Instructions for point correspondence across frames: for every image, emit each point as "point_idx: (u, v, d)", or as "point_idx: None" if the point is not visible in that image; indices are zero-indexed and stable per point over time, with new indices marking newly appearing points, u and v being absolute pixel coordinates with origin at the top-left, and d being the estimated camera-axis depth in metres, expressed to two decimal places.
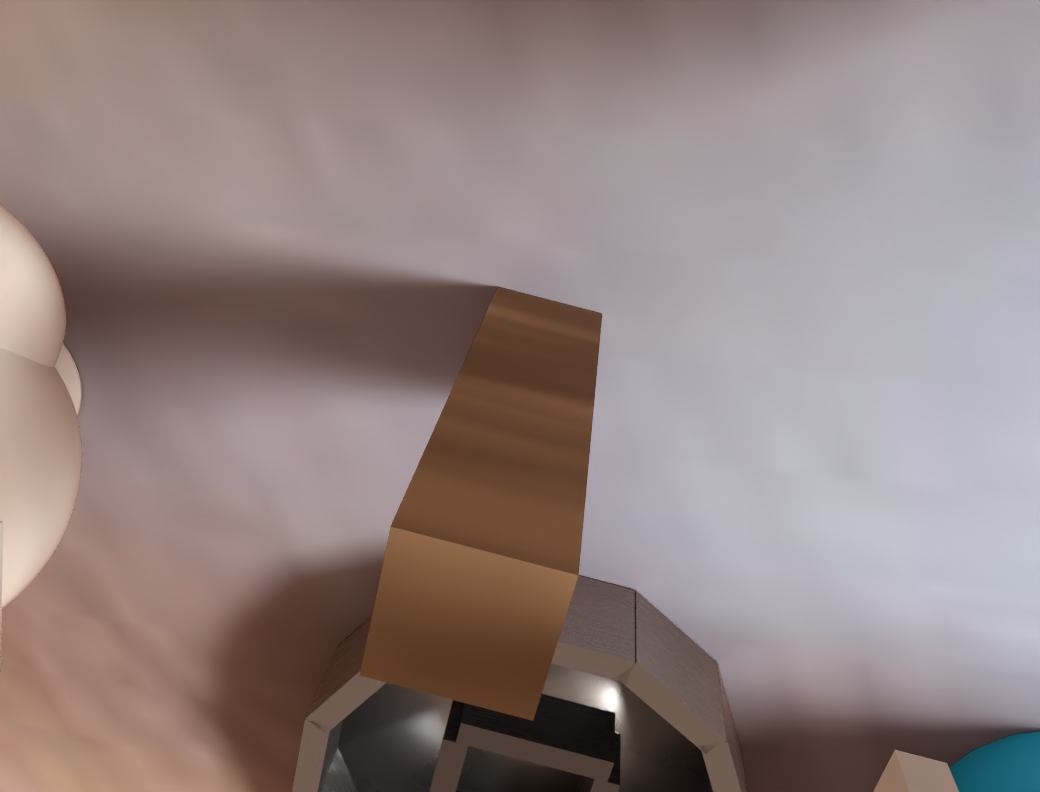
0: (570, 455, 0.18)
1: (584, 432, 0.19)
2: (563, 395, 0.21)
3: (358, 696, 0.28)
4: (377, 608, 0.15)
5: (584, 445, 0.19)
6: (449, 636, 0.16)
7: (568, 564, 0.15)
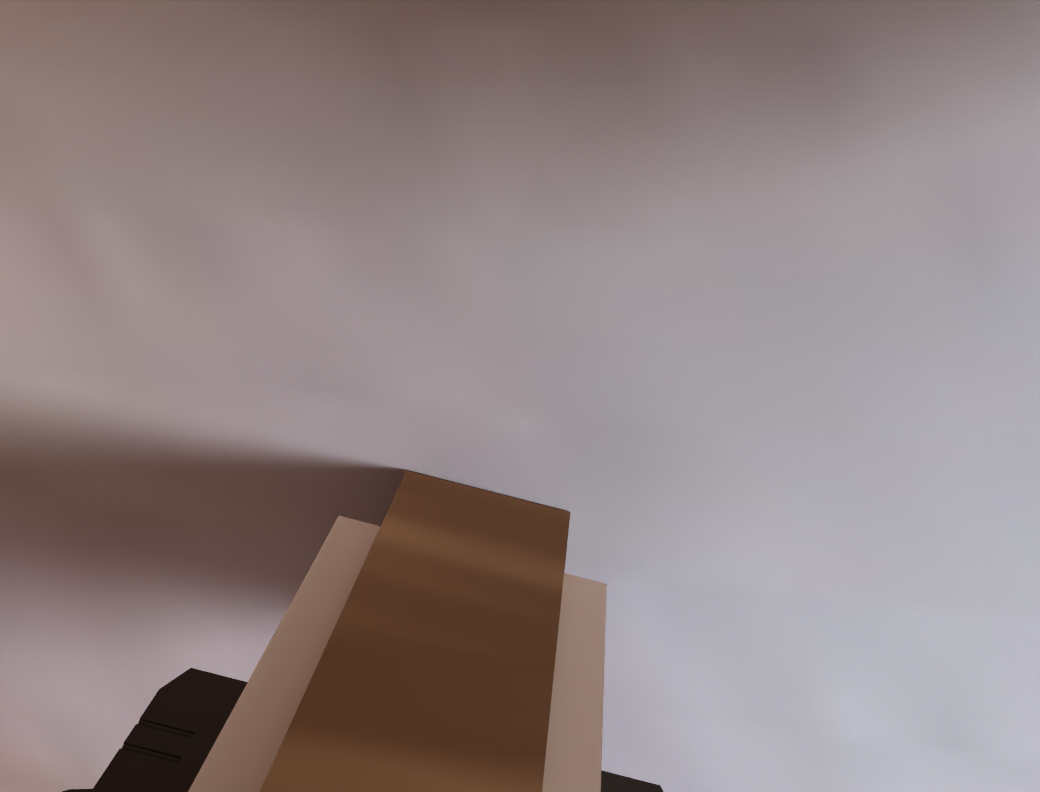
0: None
1: None
2: (486, 764, 0.11)
3: None
4: None
5: None
6: None
7: None
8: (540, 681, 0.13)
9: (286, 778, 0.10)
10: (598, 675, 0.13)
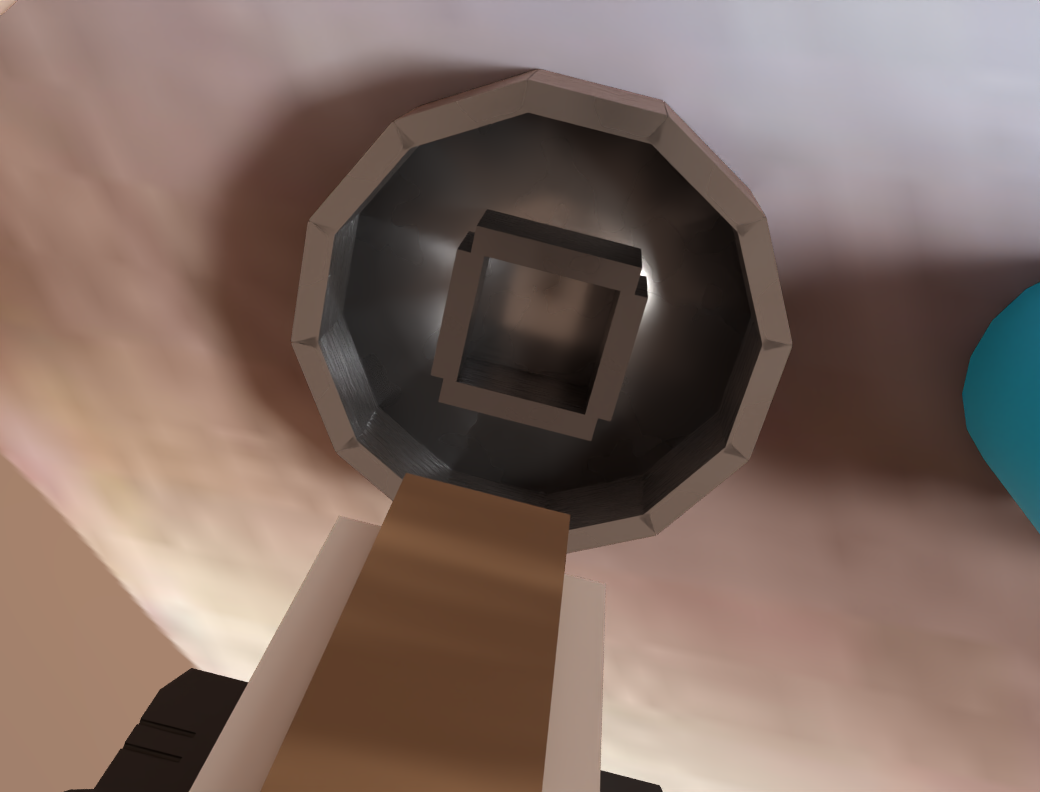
0: None
1: None
2: (486, 768, 0.11)
3: (365, 185, 0.26)
4: None
5: None
6: None
7: None
8: (540, 685, 0.13)
9: (285, 783, 0.10)
10: (597, 675, 0.13)
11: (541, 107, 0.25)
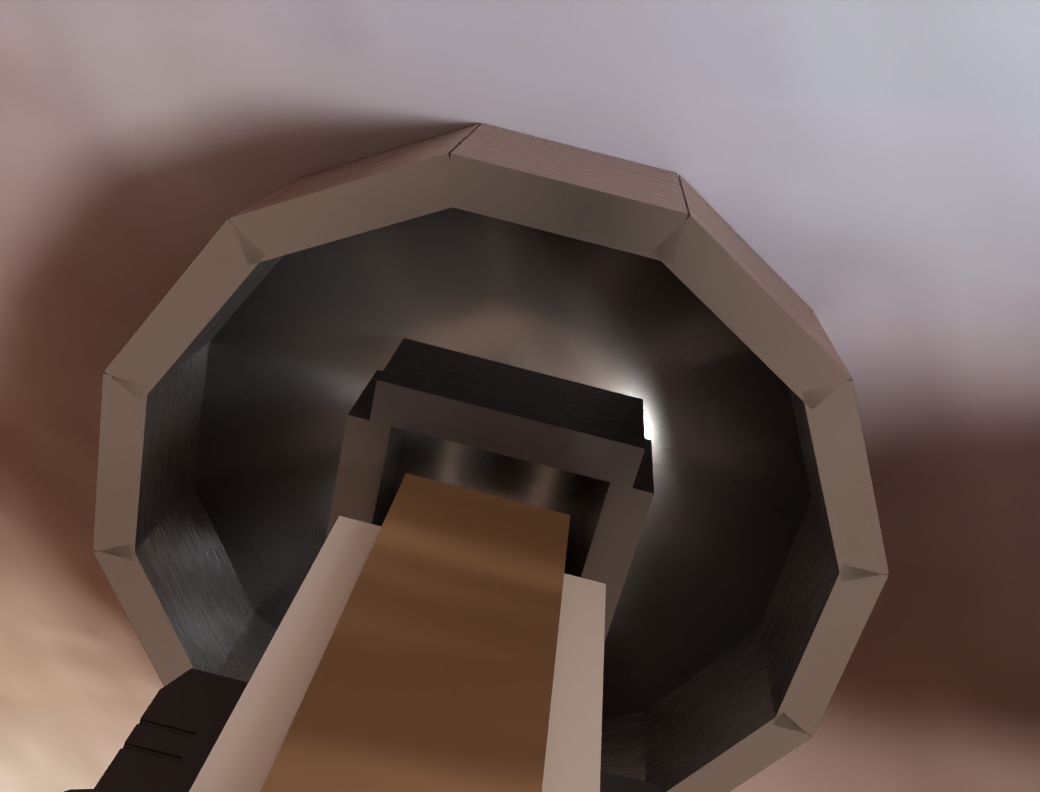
0: None
1: None
2: (485, 769, 0.11)
3: (191, 319, 0.16)
4: None
5: None
6: None
7: None
8: (540, 685, 0.13)
9: (285, 783, 0.10)
10: (597, 674, 0.13)
11: (474, 199, 0.15)
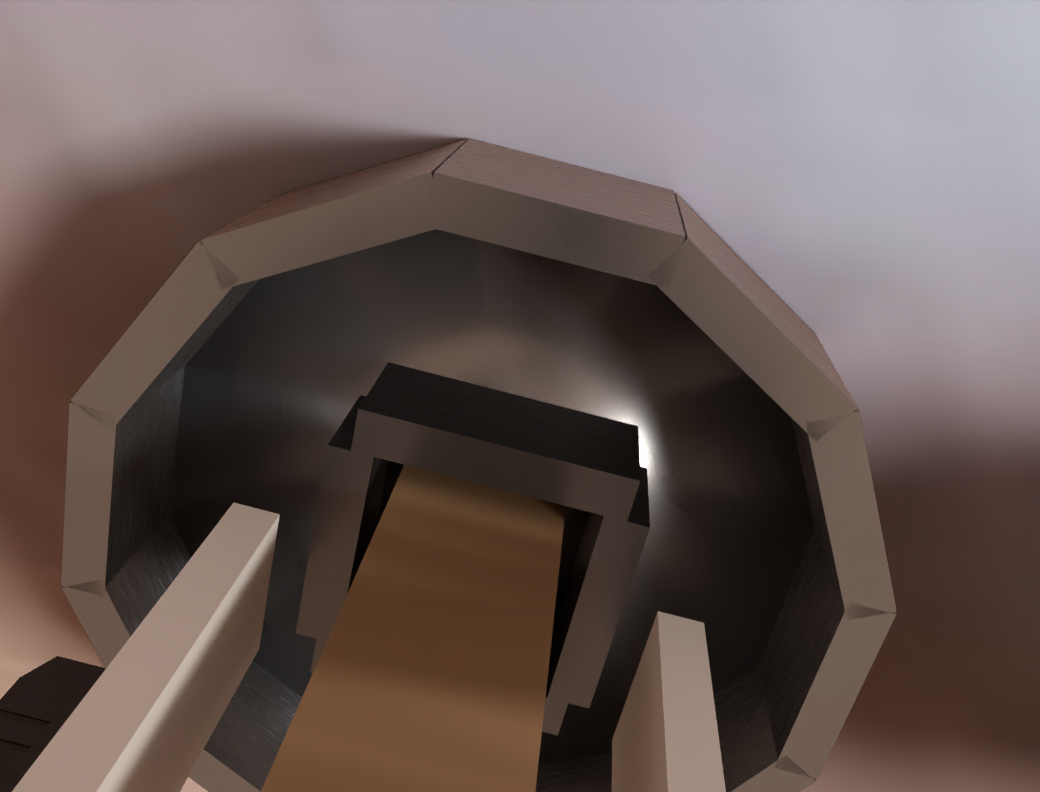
0: None
1: None
2: (494, 694, 0.13)
3: (161, 346, 0.15)
4: None
5: None
6: None
7: None
8: (541, 624, 0.14)
9: (317, 704, 0.12)
10: (711, 722, 0.13)
11: (459, 220, 0.14)
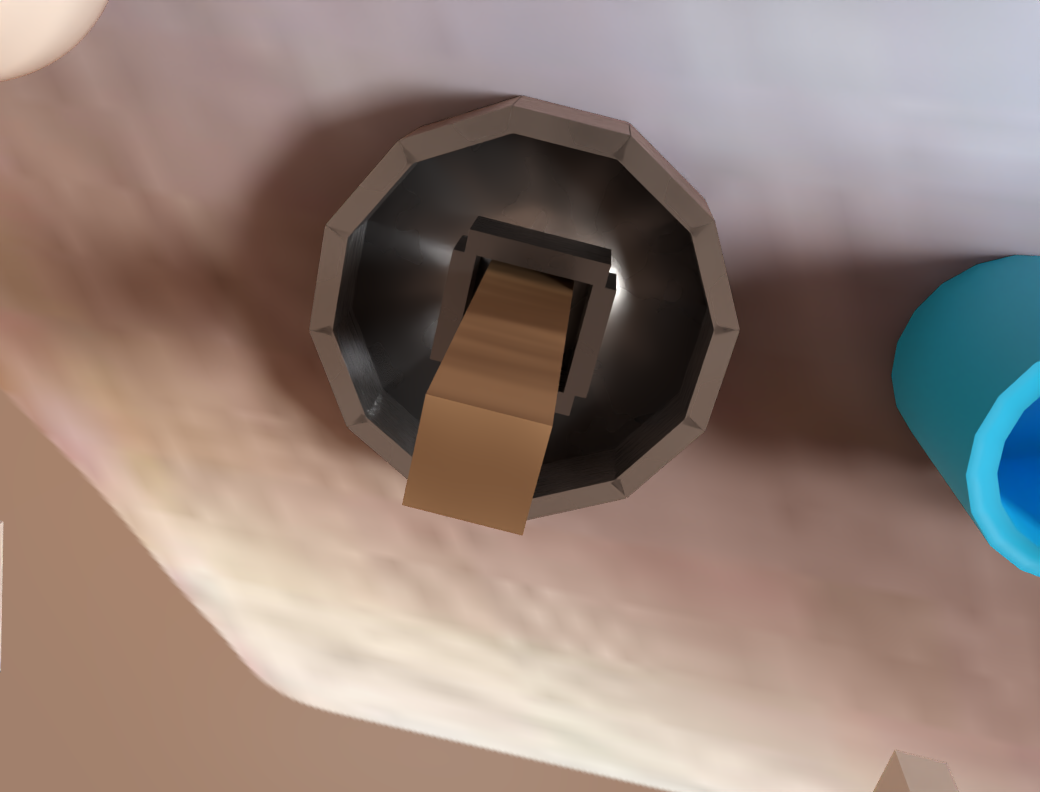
0: (548, 363, 0.26)
1: (558, 350, 0.27)
2: (543, 328, 0.28)
3: (375, 194, 0.31)
4: (415, 454, 0.23)
5: (558, 358, 0.26)
6: (464, 473, 0.23)
7: (545, 420, 0.22)
8: (563, 315, 0.30)
9: (470, 319, 0.27)
10: None
11: (524, 128, 0.30)
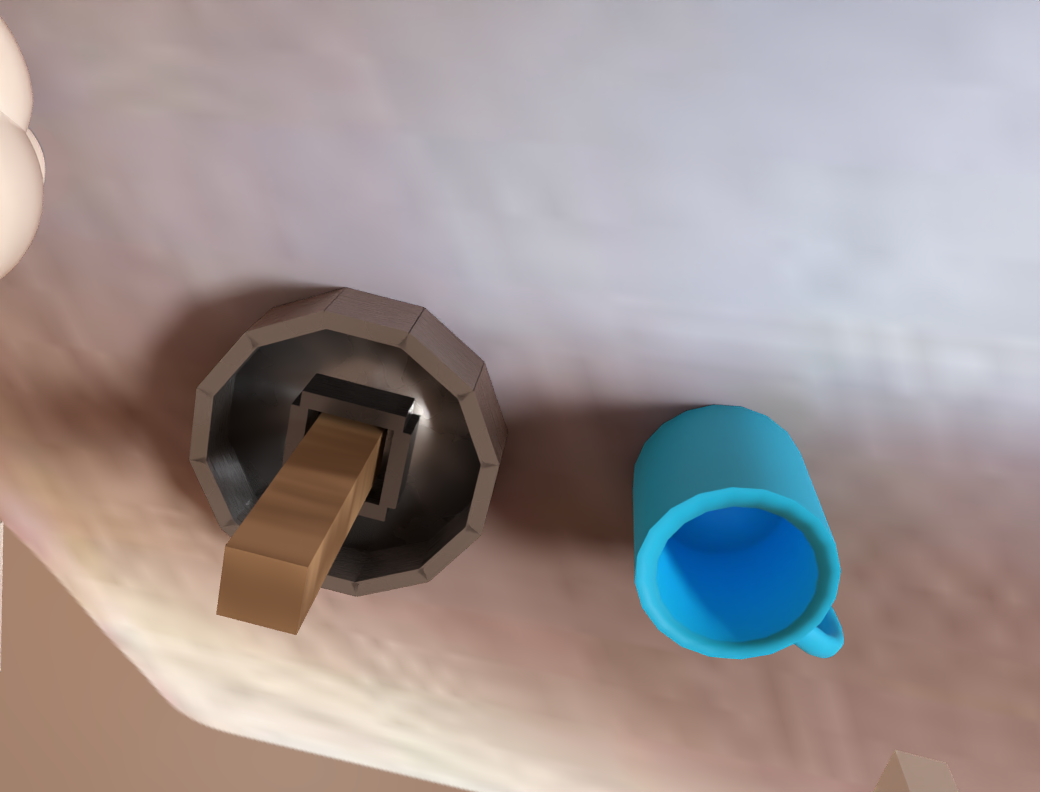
0: (329, 509, 0.37)
1: (343, 496, 0.38)
2: (340, 475, 0.40)
3: (231, 368, 0.42)
4: (222, 582, 0.34)
5: (339, 503, 0.38)
6: (255, 595, 0.34)
7: (305, 562, 0.34)
8: (362, 460, 0.41)
9: (284, 472, 0.39)
10: None
11: (333, 326, 0.41)
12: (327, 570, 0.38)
